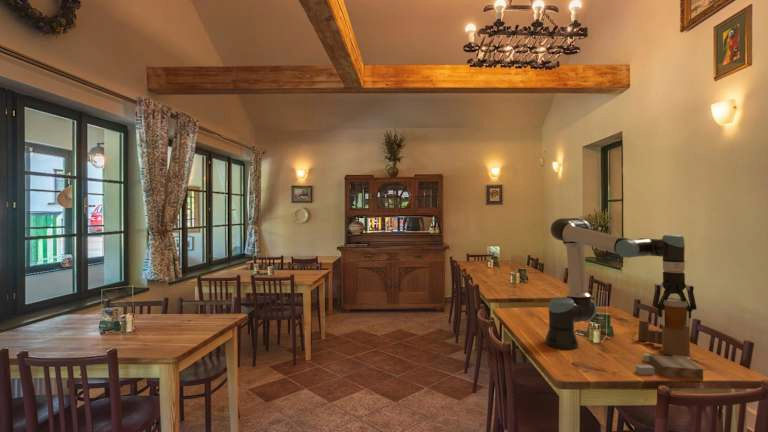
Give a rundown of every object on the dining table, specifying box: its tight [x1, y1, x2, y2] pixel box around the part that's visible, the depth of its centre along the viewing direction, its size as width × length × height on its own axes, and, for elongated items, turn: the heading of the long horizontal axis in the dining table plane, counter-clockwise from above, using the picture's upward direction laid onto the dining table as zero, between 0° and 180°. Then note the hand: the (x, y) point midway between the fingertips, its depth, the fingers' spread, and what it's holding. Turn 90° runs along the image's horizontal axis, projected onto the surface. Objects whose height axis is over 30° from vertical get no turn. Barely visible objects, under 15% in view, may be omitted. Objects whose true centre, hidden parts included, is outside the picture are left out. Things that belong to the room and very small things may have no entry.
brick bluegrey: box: [635, 364, 656, 376], centre depth 166 cm, size 6×3×3 cm, turn 91°
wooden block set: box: [637, 319, 662, 345], centre depth 207 cm, size 18×9×10 cm, turn 171°
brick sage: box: [643, 353, 652, 363], centre depth 179 cm, size 6×3×3 cm, turn 50°
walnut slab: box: [649, 354, 704, 380], centre depth 168 cm, size 14×14×4 cm
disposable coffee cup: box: [663, 297, 688, 330], centre depth 168 cm, size 10×10×12 cm
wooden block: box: [661, 318, 691, 358], centre depth 189 cm, size 10×10×20 cm
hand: (674, 325), depth 168 cm, fingers closed on disposable coffee cup, 8 cm apart
